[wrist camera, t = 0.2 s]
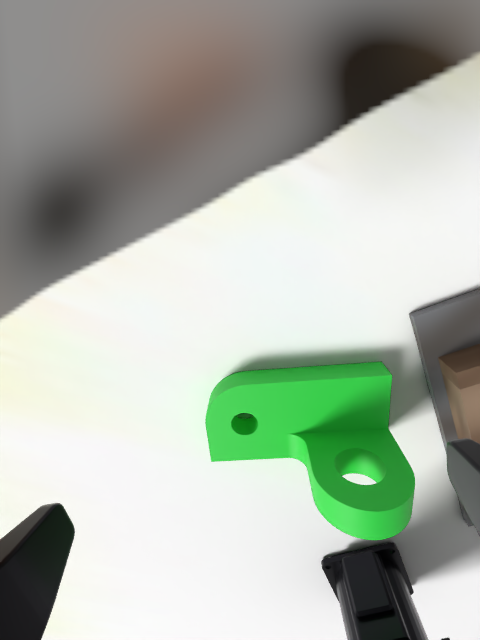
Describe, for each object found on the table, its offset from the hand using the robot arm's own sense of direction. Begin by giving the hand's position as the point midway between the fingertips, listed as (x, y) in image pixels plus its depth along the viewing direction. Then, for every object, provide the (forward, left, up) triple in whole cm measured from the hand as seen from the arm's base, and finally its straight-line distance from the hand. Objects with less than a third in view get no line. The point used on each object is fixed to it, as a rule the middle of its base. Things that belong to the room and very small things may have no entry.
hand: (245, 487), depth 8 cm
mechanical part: (-8, 0, -15) cm, 17 cm away
